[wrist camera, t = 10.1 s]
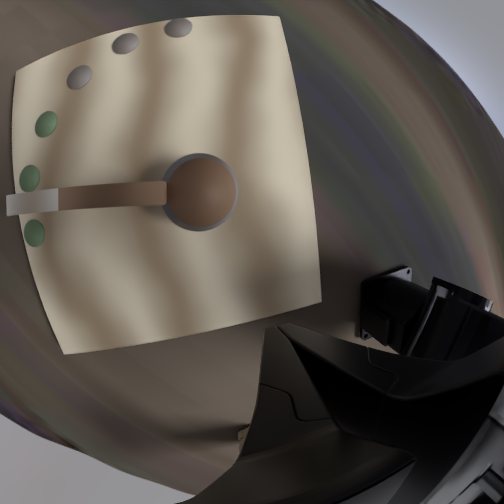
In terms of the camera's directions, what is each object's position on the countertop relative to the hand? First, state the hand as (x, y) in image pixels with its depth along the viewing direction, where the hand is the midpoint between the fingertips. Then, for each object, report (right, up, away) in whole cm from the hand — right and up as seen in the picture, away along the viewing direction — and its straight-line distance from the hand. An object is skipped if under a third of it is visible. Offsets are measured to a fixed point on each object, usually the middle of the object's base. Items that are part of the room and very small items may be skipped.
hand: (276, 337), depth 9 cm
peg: (-9, +7, +7) cm, 13 cm away
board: (-8, +8, +9) cm, 14 cm away
